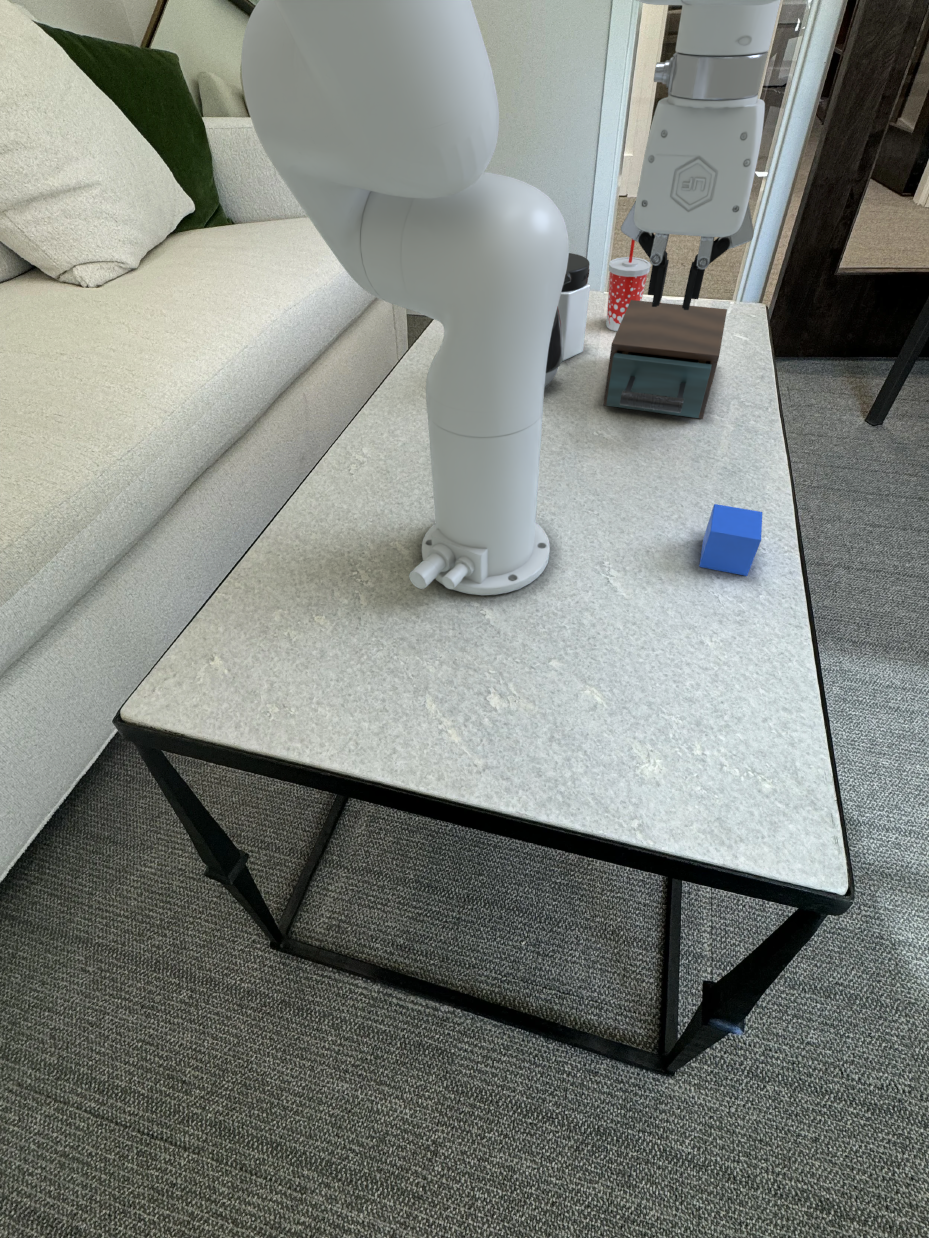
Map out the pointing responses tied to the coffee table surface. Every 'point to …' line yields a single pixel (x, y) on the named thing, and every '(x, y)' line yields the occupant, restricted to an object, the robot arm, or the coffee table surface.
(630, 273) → the beverage cup
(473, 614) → the coffee table surface
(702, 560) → the blue block
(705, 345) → the cabinet
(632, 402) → the drawer
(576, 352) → the jar
